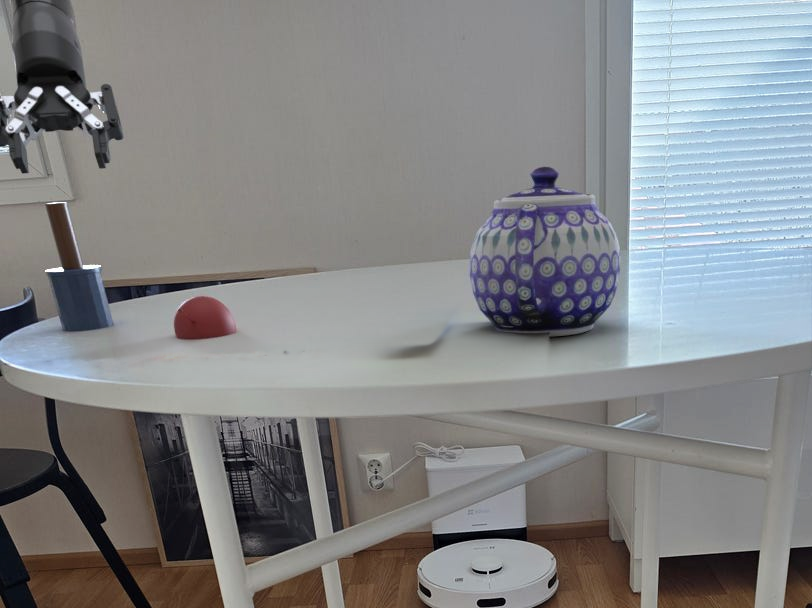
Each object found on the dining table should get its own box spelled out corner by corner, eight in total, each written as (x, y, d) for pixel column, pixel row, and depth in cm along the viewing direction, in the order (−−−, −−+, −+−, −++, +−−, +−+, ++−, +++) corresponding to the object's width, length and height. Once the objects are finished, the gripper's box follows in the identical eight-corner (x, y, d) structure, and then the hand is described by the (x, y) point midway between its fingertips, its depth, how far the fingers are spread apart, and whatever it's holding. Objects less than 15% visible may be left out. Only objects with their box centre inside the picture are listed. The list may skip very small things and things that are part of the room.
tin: (58, 348, 97) (38, 277, 93) (82, 340, 101) (63, 271, 98) (103, 346, 96) (85, 275, 92) (125, 338, 101) (108, 269, 97)
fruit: (180, 375, 89) (147, 311, 82) (192, 338, 92) (162, 273, 85) (236, 373, 89) (208, 308, 82) (247, 336, 91) (221, 270, 85)
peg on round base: (37, 283, 93) (15, 205, 89) (64, 277, 98) (44, 203, 95) (87, 280, 93) (67, 202, 89) (112, 274, 98) (94, 200, 94)
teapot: (601, 353, 77) (604, 164, 70) (440, 354, 81) (427, 175, 74) (632, 309, 98) (636, 160, 91) (503, 311, 102) (497, 168, 95)
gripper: (118, 83, 108) (133, 186, 104) (-3, 89, 105) (8, 195, 101) (102, 26, 101) (117, 134, 97) (-29, 30, 98) (-18, 141, 94)
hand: (61, 165), depth 99 cm, fingers open, 8 cm apart
